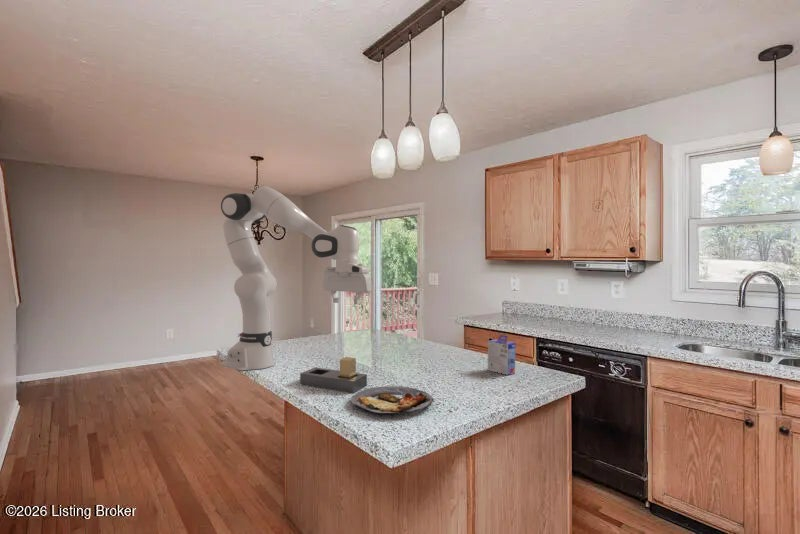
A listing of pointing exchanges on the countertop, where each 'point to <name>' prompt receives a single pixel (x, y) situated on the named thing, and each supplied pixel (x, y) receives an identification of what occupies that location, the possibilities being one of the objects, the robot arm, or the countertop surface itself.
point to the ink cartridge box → (501, 356)
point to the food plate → (392, 399)
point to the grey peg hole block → (332, 380)
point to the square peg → (348, 368)
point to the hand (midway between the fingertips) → (346, 303)
